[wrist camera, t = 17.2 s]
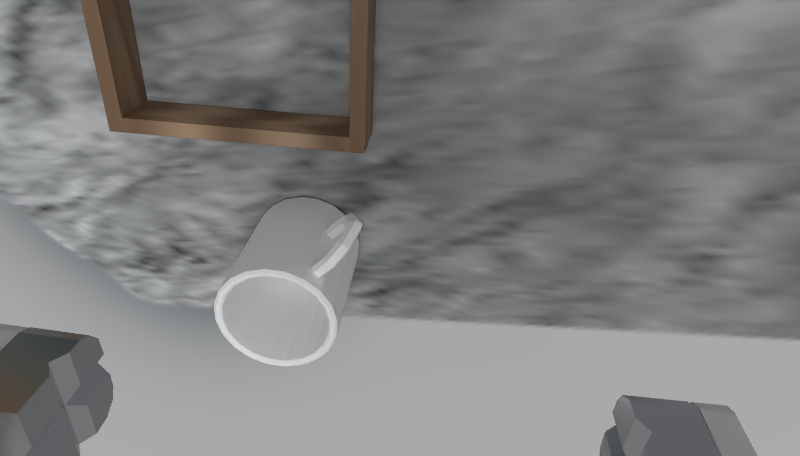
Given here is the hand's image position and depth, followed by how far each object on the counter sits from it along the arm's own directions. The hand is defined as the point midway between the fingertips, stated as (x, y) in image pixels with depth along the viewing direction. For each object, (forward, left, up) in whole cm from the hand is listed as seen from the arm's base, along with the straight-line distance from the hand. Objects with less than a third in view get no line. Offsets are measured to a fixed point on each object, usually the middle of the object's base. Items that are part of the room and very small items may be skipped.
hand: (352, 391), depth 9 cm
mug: (+7, +16, -31) cm, 36 cm away
